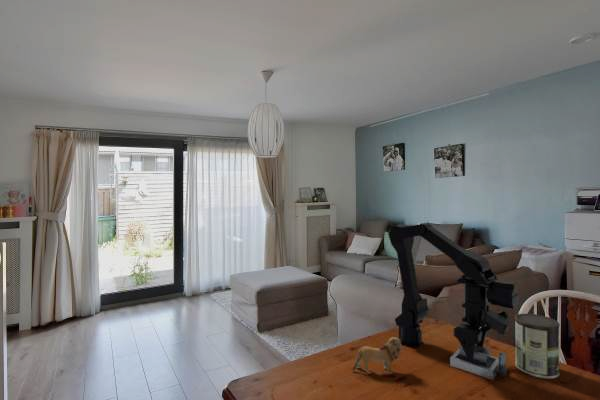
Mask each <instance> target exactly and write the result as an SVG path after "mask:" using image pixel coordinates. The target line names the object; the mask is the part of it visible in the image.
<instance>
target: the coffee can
mask: <svg viewBox="0 0 600 400" xmlns="http://www.w3.org/2000/svg"><path fill="white" fill-rule="evenodd" d="M514 321H515V328H514V330H515V333H514V334H515V363H514V365H515V367H516V368H517V369H518V370H519V371H521V372H523V373H525V374H527V375H529V376H531V377H536V378H539V379H546V380H547V379H550V380H551V379H552V380H553V379H557V378H558V377H560V343H559V342H560V337H559V336H560V323H559V321H557V320H555V319H554V318H551V317H548V316H545V315H541V314H535V313H534V314H533V313H518V314H517V313H516V314H515V315H514Z"/></svg>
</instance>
